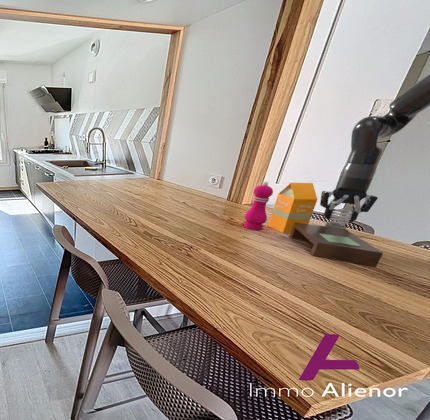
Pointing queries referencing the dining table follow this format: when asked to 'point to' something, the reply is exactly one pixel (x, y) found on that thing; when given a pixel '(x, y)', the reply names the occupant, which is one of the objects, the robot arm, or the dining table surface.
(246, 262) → the dining table surface
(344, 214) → the light bulb
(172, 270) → the dining table surface
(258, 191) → the pepper mill
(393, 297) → the dining table surface
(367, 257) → the shelf
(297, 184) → the orange juice
